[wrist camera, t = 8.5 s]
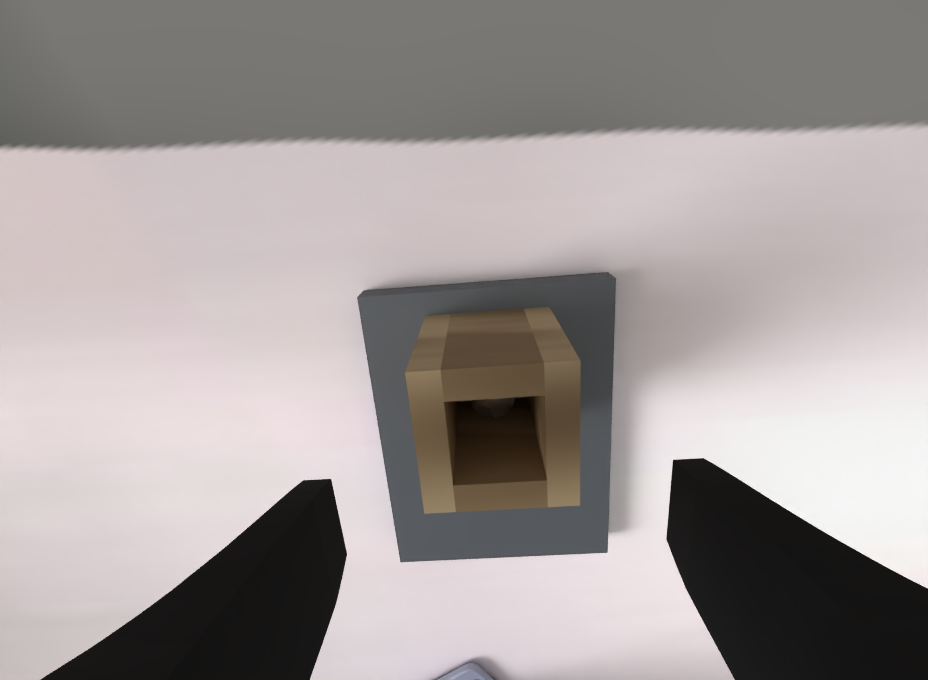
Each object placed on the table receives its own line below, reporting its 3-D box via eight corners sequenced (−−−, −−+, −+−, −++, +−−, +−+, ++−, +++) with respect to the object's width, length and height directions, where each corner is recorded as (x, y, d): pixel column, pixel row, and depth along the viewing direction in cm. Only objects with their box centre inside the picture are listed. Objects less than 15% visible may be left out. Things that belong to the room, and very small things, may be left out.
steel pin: (516, 370, 17) (523, 401, 15) (486, 391, 17) (488, 425, 15) (493, 342, 17) (496, 369, 14) (463, 364, 17) (461, 394, 14)
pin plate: (601, 535, 21) (607, 552, 20) (403, 545, 21) (400, 562, 20) (607, 272, 17) (615, 278, 16) (363, 290, 17) (357, 297, 16)
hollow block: (551, 417, 17) (580, 505, 13) (437, 424, 18) (424, 514, 13) (549, 306, 16) (580, 360, 11) (424, 315, 16) (405, 372, 12)
